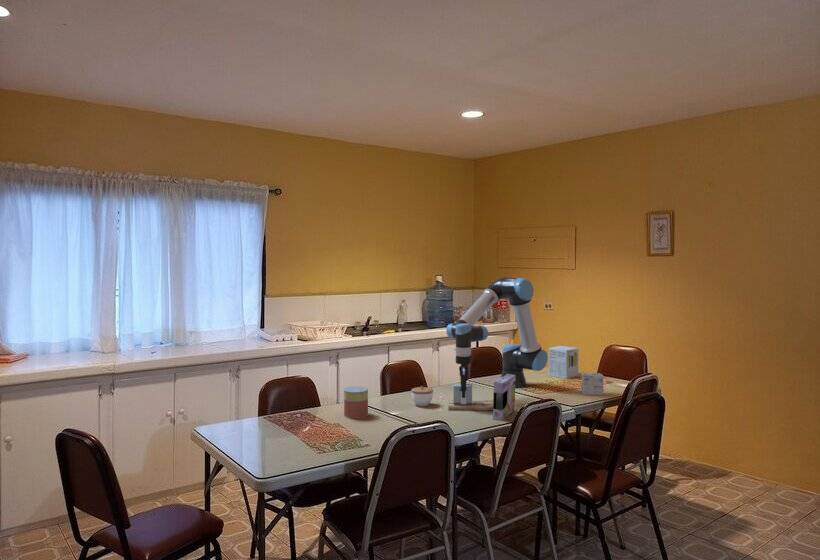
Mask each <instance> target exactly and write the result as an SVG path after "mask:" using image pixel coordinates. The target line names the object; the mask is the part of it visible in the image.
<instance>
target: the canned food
mask: <svg viewBox="0 0 820 560" xmlns="http://www.w3.org/2000/svg"><path fill="white" fill-rule="evenodd" d="M343 404H344V405H343V416H344V417H345V418H347V419H348V418H349V419H362V418H366V417H368V416H369V389H368V388H367V387H364V386H351V387H349V386H348V387H345V388H344V389H343Z"/></svg>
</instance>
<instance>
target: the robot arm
mask: <svg viewBox="0 0 820 560" xmlns="http://www.w3.org/2000/svg"><path fill="white" fill-rule="evenodd" d="M534 290H535V289H534V285H533V284H532V282H531V281H530V280H529V279H527V278H523V277H501V278H499V279H498V278H497V279H496V280H494V281H492V283H490V284H488V286H487V287H486V288H485V289H483V291H482V295H481V296H479V297H478V298H477V300H476V301H475V302H474V303H472V305H471V306H470V307H469V308H468V309H467V310H466V312H465V313H464V314H463V315H462V316H461V317H460V318H459V319H458V320H457V321H456V322H453V323H449V324H448V325H447V326H446V329H445V332H446V335H447V337H449V338H451V339H455V348H454V351H455V363H456V365H460V366H459V367H458V368H459V369H458V370H459V377H460V381H459V382H460V383H459V384H461V390H460V391H461V404H466V390H467V389H466V384H467V377H468V366H467V365H470V364H471V363H472V356H471V355H472V343H475V342H482V341H485V340H486V339H488V337H489V330H488V328H487V327H486V326H485V325H475V324H476V323H477V322H478V321H479V320H480V319H481V318H482V316H483V315H484V314H485V313H486V312H487V311H488V310H489V309H490V308H491V307H492V305H494V304H497V303H498V302H499V301H500V300H508V303H509V305H510V306H511V307H513V311H514V316H515V320H516V321H515V322H516V325H517V330H518V334H519V338H520V339H519V340H520V342H521V344H520V343H519V344H517V343H516V344H509V345H508V344H507V345H504V346H503V347H502V354H501V355H502V371H501V375H500V378H501V377H503V376H505V375H506V374H511V375H515V388H524V387H526V386H527V380H526V377H525V373H524V369H525V370H528V371H529V370H531V371H534V372H535V371H537V372H538V371H539V372H540V371H543V370H544V369H545V367H546V366H547V363H548V361H549V354H548V352H547V351H546V350H544V349H542V344H541V343H539V342H538V340H537V334H536V330H535V326H534V321H533V316H532V311H531V307H530V303H531V301H532V298H533V296H534V292H535V291H534Z"/></svg>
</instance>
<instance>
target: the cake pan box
mask: <svg viewBox="0 0 820 560" xmlns="http://www.w3.org/2000/svg"><path fill="white" fill-rule="evenodd" d="M492 394H493V395H492V396H493V397H492V398H493V399H492V401H493V411H492V420H495V419H498V420H497V421H503V420H504V419H505V418H507V417H508V416H509V415H511V414H512V413H514V411H515V404H516V400H515V399H516V387H515V375H511V374H506V375H505V376H503V377H501V376H500V377H499V378H498V379H496V380H494V381H493V393H492ZM502 419H503V420H502Z"/></svg>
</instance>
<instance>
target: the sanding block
mask: <svg viewBox="0 0 820 560" xmlns="http://www.w3.org/2000/svg"><path fill="white" fill-rule="evenodd" d="M466 389H467V390H466V404H461V391H460V390H461V384H460V383H453V400H454V405H472V401H473V384H472V383H466Z"/></svg>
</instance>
